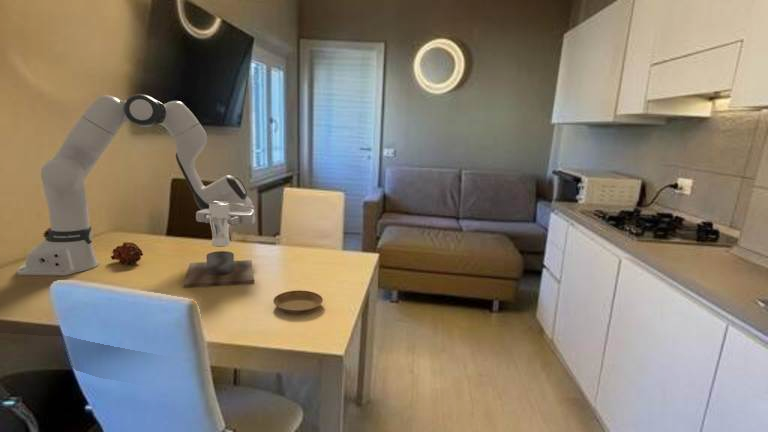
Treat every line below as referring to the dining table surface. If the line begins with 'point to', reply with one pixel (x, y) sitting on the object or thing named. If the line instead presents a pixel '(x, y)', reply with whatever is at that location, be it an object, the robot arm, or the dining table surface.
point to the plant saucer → (298, 302)
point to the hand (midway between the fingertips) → (218, 221)
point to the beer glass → (219, 222)
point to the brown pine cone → (127, 253)
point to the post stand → (219, 271)
